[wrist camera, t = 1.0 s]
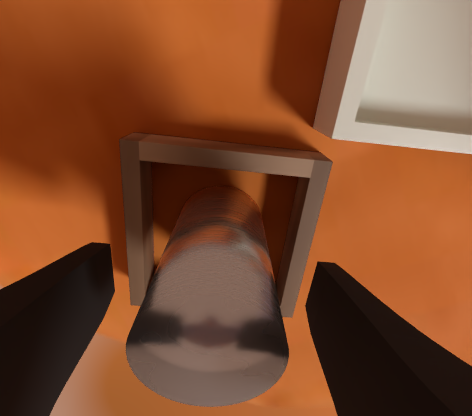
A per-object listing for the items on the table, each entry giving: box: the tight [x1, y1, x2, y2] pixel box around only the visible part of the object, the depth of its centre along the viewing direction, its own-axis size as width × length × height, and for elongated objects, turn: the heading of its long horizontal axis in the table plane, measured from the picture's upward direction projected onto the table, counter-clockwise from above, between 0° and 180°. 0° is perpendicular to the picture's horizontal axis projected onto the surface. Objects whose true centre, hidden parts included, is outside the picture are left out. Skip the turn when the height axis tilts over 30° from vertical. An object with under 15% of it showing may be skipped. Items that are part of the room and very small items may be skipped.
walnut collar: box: [119, 132, 333, 317], centre depth 12 cm, size 8×8×2 cm
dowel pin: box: [126, 186, 289, 407], centre depth 10 cm, size 4×4×7 cm
